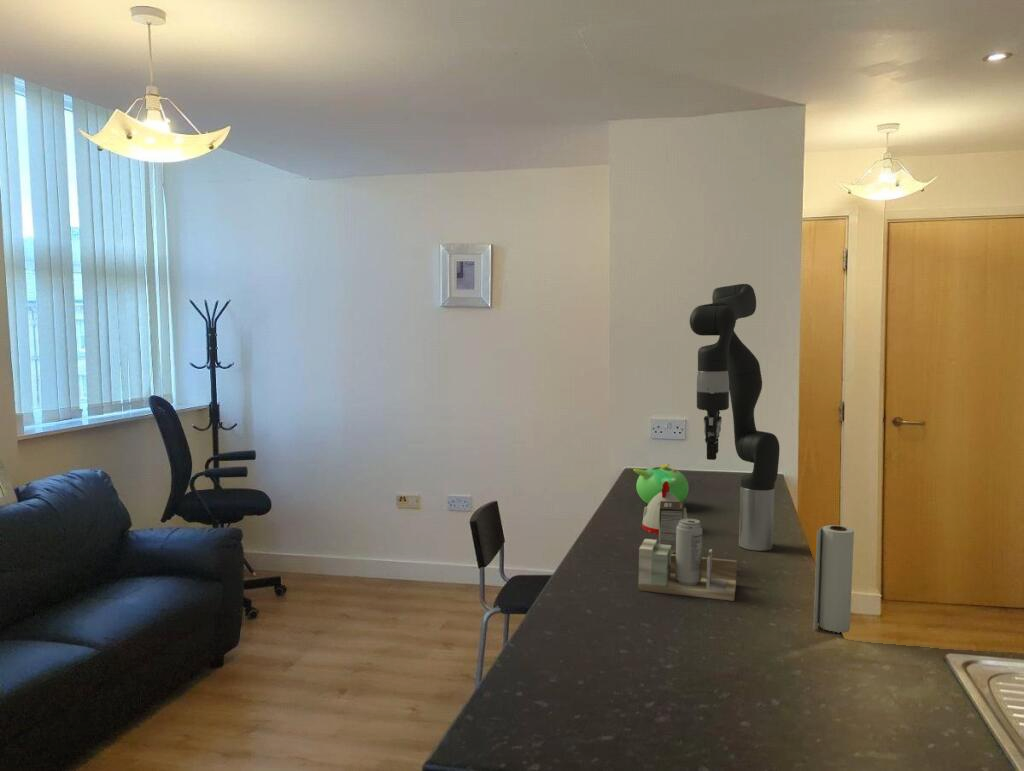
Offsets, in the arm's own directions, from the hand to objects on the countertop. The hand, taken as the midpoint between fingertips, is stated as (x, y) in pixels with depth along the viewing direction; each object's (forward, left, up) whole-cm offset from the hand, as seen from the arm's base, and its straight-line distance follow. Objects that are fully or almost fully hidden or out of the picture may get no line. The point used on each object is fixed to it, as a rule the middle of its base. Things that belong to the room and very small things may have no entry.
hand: (712, 456), depth 189 cm
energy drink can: (+6, -5, -30) cm, 31 cm away
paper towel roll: (+21, +26, -32) cm, 46 cm away
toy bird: (-78, -22, -32) cm, 87 cm away
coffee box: (-12, -11, -32) cm, 36 cm away
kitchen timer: (-48, -17, -32) cm, 60 cm away
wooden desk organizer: (+5, -5, -32) cm, 32 cm away
